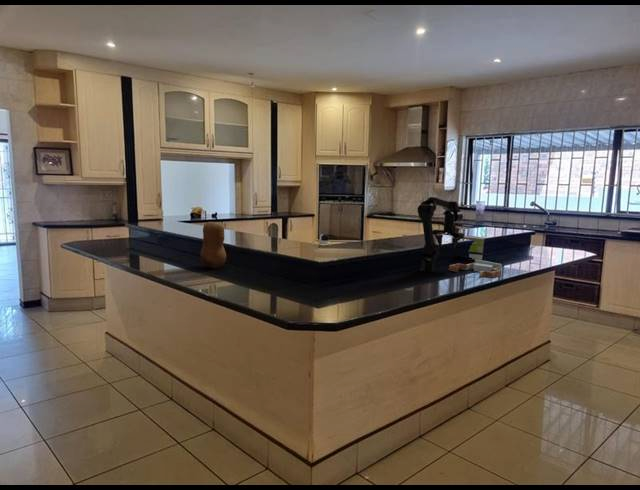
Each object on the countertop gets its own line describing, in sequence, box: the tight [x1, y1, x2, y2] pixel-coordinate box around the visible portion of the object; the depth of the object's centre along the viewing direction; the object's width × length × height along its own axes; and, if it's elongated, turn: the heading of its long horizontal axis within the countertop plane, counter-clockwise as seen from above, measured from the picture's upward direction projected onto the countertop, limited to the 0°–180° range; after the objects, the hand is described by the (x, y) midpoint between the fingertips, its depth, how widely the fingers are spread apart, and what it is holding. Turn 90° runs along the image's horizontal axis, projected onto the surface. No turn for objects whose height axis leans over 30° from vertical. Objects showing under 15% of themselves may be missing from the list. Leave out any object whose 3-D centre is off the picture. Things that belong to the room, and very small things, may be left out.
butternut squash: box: [200, 221, 227, 269], centre depth 244 cm, size 14×13×25 cm
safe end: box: [474, 259, 503, 271], centre depth 269 cm, size 1×16×5 cm, turn 41°
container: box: [317, 233, 331, 245], centre depth 298 cm, size 8×8×13 cm
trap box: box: [448, 262, 502, 279], centre depth 262 cm, size 22×24×3 cm
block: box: [473, 262, 493, 273], centre depth 265 cm, size 6×10×4 cm, turn 65°
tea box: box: [462, 234, 485, 261], centre depth 305 cm, size 15×10×15 cm, turn 73°
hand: (446, 248), depth 269 cm, fingers open, 9 cm apart
